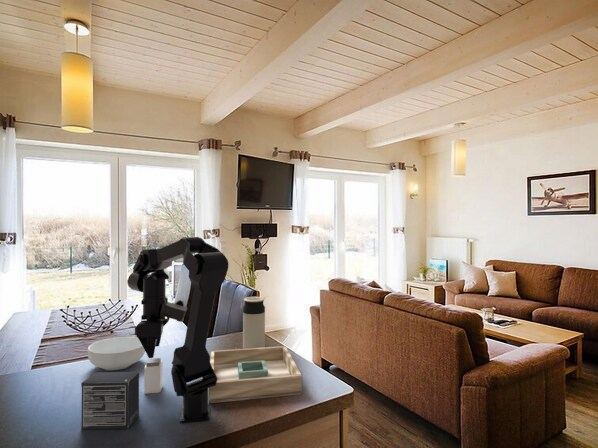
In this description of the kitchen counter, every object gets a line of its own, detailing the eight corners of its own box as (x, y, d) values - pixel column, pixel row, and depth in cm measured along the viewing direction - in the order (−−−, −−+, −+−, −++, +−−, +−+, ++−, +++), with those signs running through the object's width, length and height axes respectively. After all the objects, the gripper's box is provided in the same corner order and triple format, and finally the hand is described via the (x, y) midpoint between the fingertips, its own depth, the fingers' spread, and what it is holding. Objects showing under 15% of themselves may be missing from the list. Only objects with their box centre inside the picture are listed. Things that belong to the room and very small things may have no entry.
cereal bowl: (131, 377, 107) (132, 353, 107) (75, 376, 107) (75, 353, 107) (154, 356, 124) (154, 335, 124) (105, 356, 124) (105, 335, 124)
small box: (140, 414, 87) (140, 370, 87) (128, 429, 80) (128, 382, 80) (95, 414, 86) (95, 370, 86) (79, 430, 80) (80, 382, 80)
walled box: (301, 394, 97) (301, 375, 97) (209, 403, 92) (209, 383, 92) (285, 360, 120) (285, 345, 120) (210, 366, 115) (211, 350, 115)
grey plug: (160, 392, 98) (160, 362, 98) (144, 393, 97) (144, 363, 97) (162, 385, 102) (162, 357, 102) (147, 387, 101) (147, 358, 101)
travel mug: (248, 353, 128) (249, 301, 128) (239, 346, 134) (239, 297, 134) (268, 348, 132) (268, 299, 132) (258, 342, 139) (258, 295, 139)
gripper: (181, 300, 92) (181, 362, 92) (188, 287, 110) (187, 339, 110) (134, 302, 90) (134, 365, 90) (148, 289, 108) (148, 341, 108)
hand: (154, 351), depth 99 cm, fingers open, 9 cm apart
